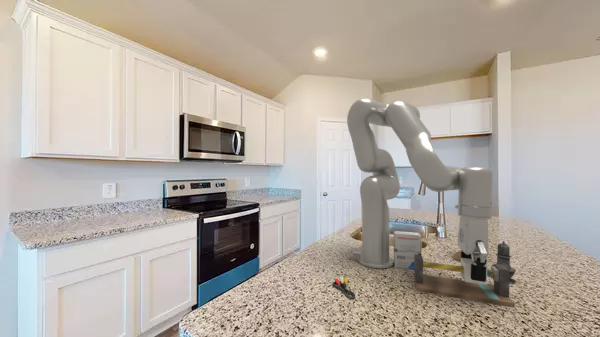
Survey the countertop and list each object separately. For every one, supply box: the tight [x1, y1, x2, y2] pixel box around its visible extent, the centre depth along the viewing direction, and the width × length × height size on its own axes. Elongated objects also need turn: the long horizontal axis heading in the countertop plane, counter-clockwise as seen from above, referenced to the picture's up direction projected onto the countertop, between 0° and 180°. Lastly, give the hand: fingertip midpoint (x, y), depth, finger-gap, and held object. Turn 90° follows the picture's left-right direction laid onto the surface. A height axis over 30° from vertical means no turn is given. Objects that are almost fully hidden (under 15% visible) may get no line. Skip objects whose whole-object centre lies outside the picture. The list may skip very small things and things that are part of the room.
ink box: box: [393, 230, 422, 270], centre depth 85 cm, size 9×5×12 cm, turn 72°
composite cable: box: [331, 275, 356, 300], centre depth 68 cm, size 10×5×2 cm, turn 7°
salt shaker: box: [490, 240, 517, 284], centre depth 76 cm, size 6×6×12 cm
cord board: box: [412, 254, 516, 308], centre depth 69 cm, size 22×10×8 cm, turn 69°
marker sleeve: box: [460, 258, 488, 285], centre depth 67 cm, size 5×4×5 cm
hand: (472, 272), depth 68 cm, fingers open, 9 cm apart
